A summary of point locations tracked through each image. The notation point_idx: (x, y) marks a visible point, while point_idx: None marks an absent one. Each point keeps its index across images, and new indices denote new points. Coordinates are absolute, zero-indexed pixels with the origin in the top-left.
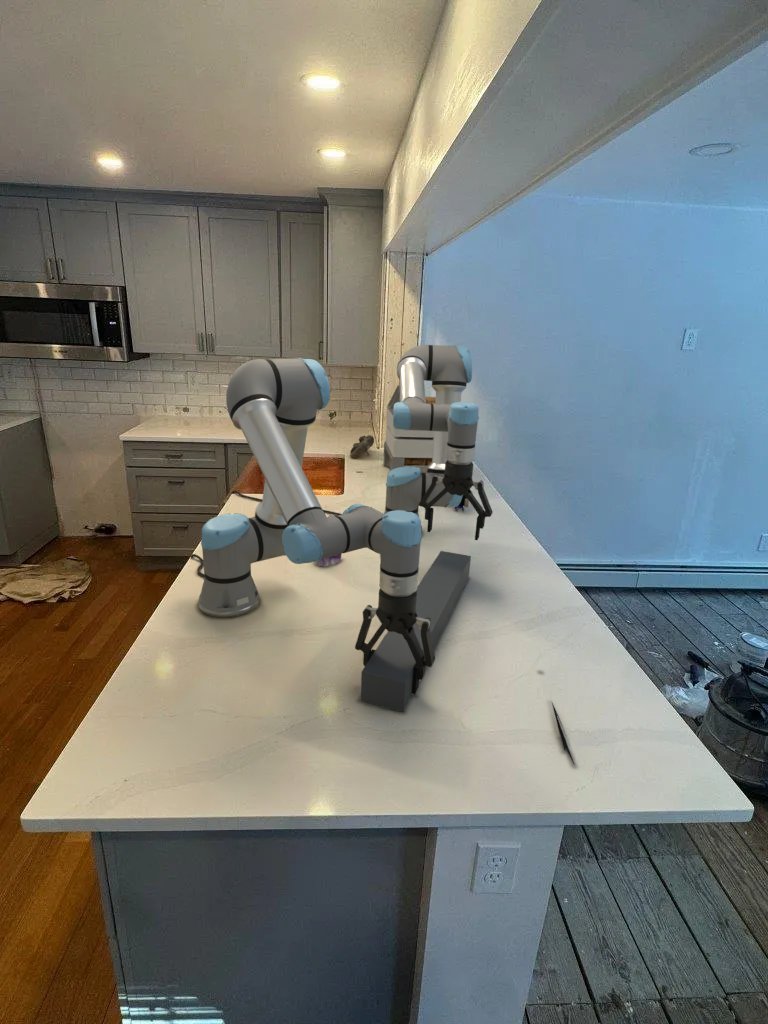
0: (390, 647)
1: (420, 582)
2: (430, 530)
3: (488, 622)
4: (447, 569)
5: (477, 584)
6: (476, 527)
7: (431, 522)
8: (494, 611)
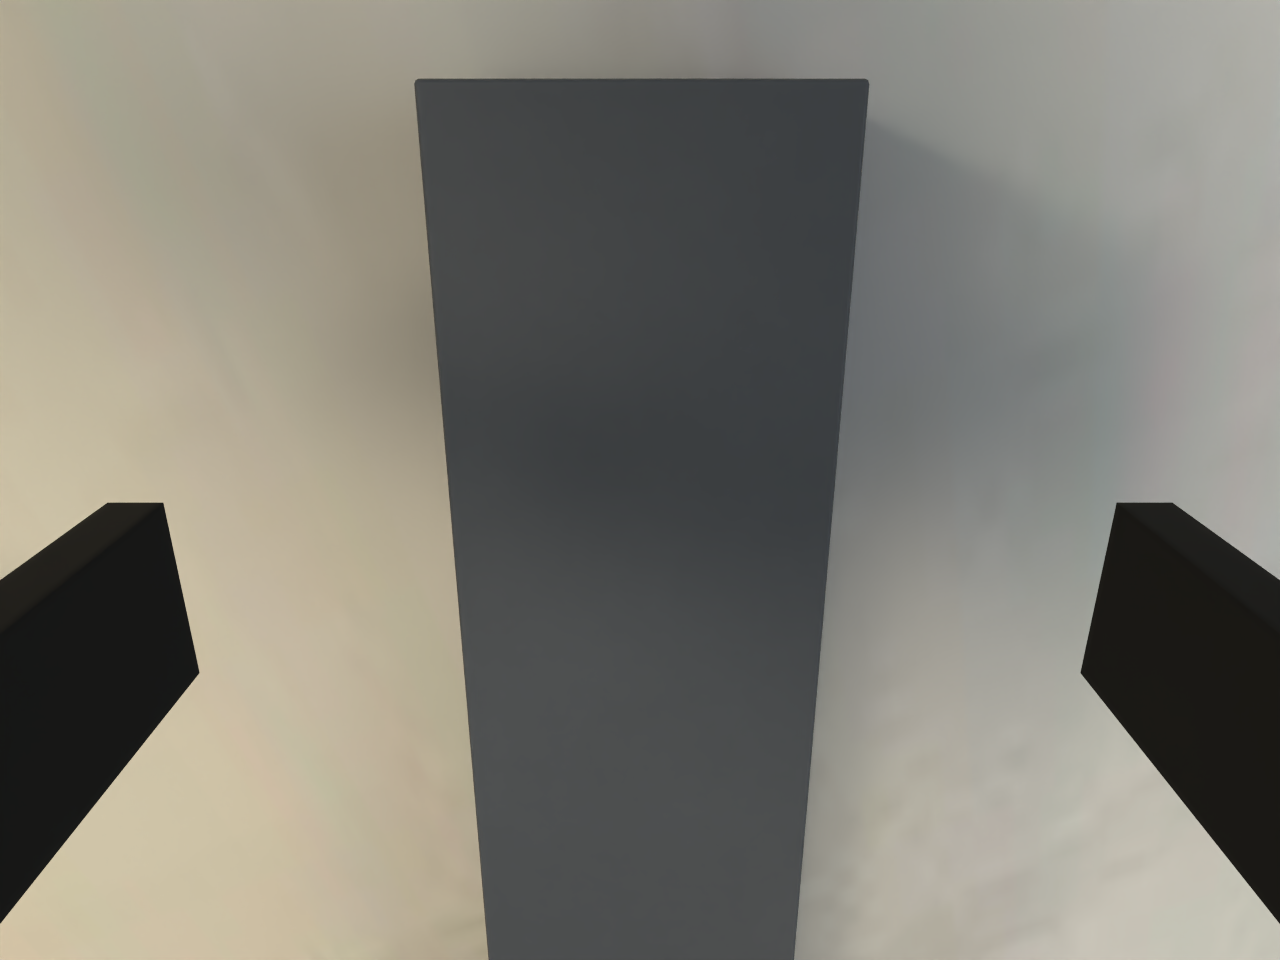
0: None
1: (489, 926)
2: (178, 633)
3: (1031, 783)
4: (653, 604)
5: (914, 216)
6: (1250, 870)
7: (76, 698)
8: (1076, 634)
